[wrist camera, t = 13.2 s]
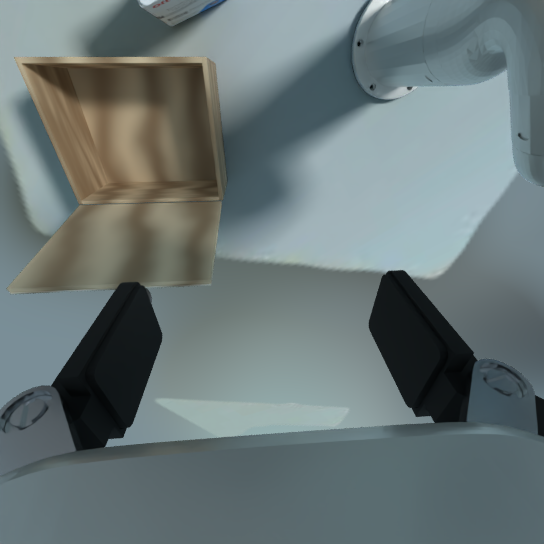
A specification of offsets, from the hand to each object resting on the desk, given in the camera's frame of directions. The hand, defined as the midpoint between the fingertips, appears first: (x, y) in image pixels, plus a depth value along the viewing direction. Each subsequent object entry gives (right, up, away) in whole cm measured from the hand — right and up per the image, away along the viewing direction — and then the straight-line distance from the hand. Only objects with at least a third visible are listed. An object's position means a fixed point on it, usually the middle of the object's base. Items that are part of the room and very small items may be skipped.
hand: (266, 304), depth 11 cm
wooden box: (-17, +23, +29) cm, 41 cm away
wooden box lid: (-16, +5, +21) cm, 27 cm away
